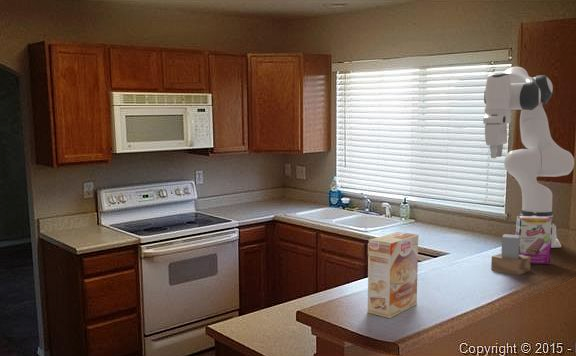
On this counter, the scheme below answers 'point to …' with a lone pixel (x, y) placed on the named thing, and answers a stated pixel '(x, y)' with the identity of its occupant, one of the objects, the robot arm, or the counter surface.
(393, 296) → the coffeecake box
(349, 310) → the counter surface
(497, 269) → the tan block
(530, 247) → the candy bar box
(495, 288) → the counter surface
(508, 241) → the grey plastic block
